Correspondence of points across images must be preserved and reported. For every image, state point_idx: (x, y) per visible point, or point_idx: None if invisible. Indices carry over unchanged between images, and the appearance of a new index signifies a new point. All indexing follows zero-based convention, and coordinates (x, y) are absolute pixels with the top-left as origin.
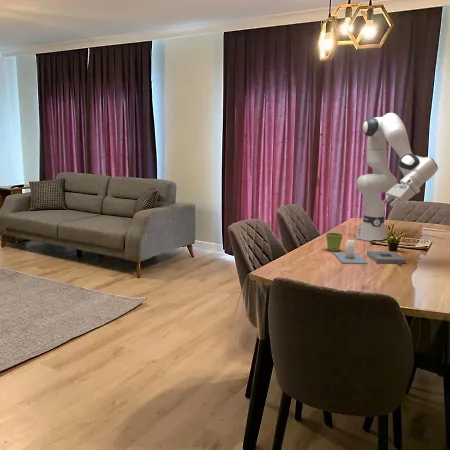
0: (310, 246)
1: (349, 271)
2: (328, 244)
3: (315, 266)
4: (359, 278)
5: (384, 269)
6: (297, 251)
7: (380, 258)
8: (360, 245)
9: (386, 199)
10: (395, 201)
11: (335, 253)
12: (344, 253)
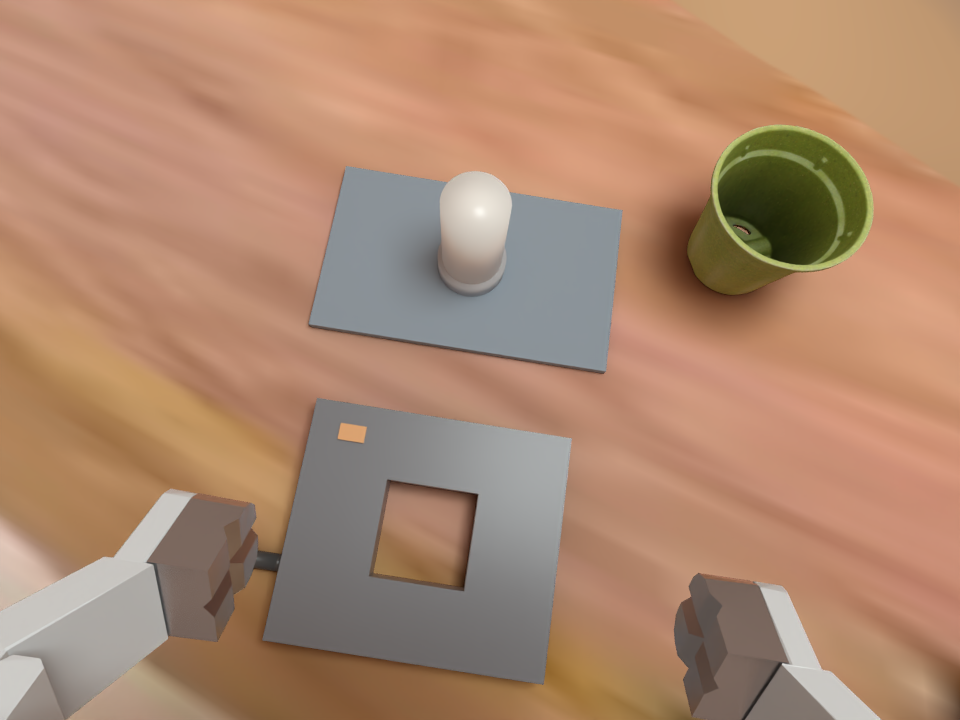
0: None
1: (162, 140)
2: (730, 190)
3: (307, 2)
4: (9, 135)
5: (156, 380)
6: (678, 19)
7: (330, 435)
8: (906, 543)
9: (780, 686)
10: (29, 622)
11: (588, 213)
12: (586, 275)
